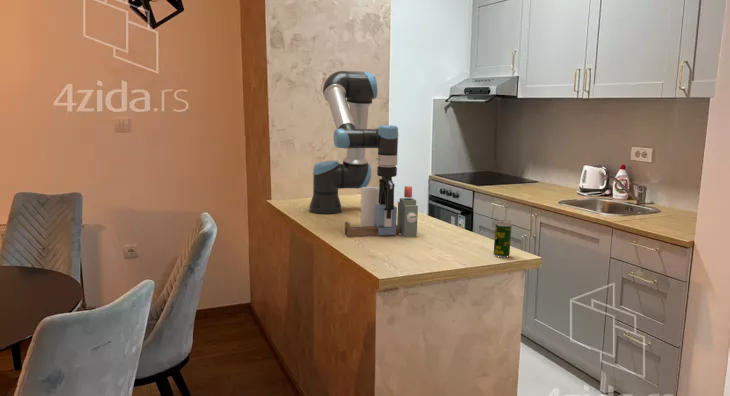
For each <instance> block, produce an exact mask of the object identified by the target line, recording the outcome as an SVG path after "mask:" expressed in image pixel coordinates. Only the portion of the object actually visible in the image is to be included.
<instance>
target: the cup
mask: <svg viewBox="0 0 730 396" xmlns="http://www.w3.org/2000/svg"><path fill="white" fill-rule="evenodd" d="M360 189H361V196H360V197H361V198H360V226H375V205H380V204H379V203H378V202H379V187H377V186H367V187H363V188H360Z"/></svg>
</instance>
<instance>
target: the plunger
mask: <svg viewBox="0 0 730 396" xmlns="http://www.w3.org/2000/svg"><path fill="white" fill-rule="evenodd" d="M403 195H404V196H403V198H413V186H410V185H408V186H407V185H406V186H404V193H403Z"/></svg>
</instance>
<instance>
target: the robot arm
mask: <svg viewBox="0 0 730 396" xmlns="http://www.w3.org/2000/svg"><path fill="white" fill-rule="evenodd" d="M322 93H323V97H324V99H325V101H326V102H327V103H328V105H329V110H330V113H331V116H332V119H333V122H334V126H335V129H334V131H333V144H334V146H335V147H336V148H337V149H346V155H345V157H344V158H343V159H342V163H340V161H338V160H326V161H320V162H317V163H315V164H314V165H313V169H312V170H313V171H312V177H313V178H312V181H313V182H312V183H313V184H312V185H313V187H312V189H313V190H312V191H313V192H312V198H311V200H310V202H309V203H310V204H309V207H308V208H309V212H311V213H314V214H319V215H322V214H323V215H328V214H329V215H331V214H339V213H342V208H343V207H342V204H341V200H340V197H339V190H341V189H343V190H345V189H362V188H363V187H368V185H369V184H370V182H371V178H372V166H371V164H370V163H369V161H368V159H367V158H366V150H367V149H377V157H376V158H375V159H376V160H377V165H378V166H377V168H376V169H377V170H376V172H377V173H376V174H377V176H378V177H381V178H379V182H378V183H379V184H378V185H379V187H378V188H379V202H378V203H379V204H380V205H384V204H385V209H384V210H385V215H384V227H391V224H392V209H394V206H395V183H394V181H393V178H396V177H397V175H398V174H397V173H398V171H397V170H398V168H397V165H398V147H399V144H398V143H399V128H398V126H397V125H393V124H392V125H389V124H388V125H387V124H383V125H379V126H378V128H368V119H369V107H370V106H371V105H372V104H373V100H375V99H376V98H377V96H378V83H377V79H376V76H375V74H374V73H372V72H368V71H360V70H359V71H357V70H356V71H349V70H339V71H336V72H333V73H331V74H330V75H329V76H328V77H327V78H326V80H325V82H324V84H323V87H322Z"/></svg>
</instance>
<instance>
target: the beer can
mask: <svg viewBox="0 0 730 396" xmlns="http://www.w3.org/2000/svg"><path fill="white" fill-rule="evenodd" d="M494 225H495V226H494V240H493V242H494V243H493V255H495V256H499V257H507V256H509V257H510V253H511V241H512V240H511V239H512V236H511V235H512V222H511V221H510V220H504V219H503V220H501V219H500V220H496V221H495V224H494ZM495 256H494V257H495ZM499 257H498V258H499ZM507 258H508V257H507Z"/></svg>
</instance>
